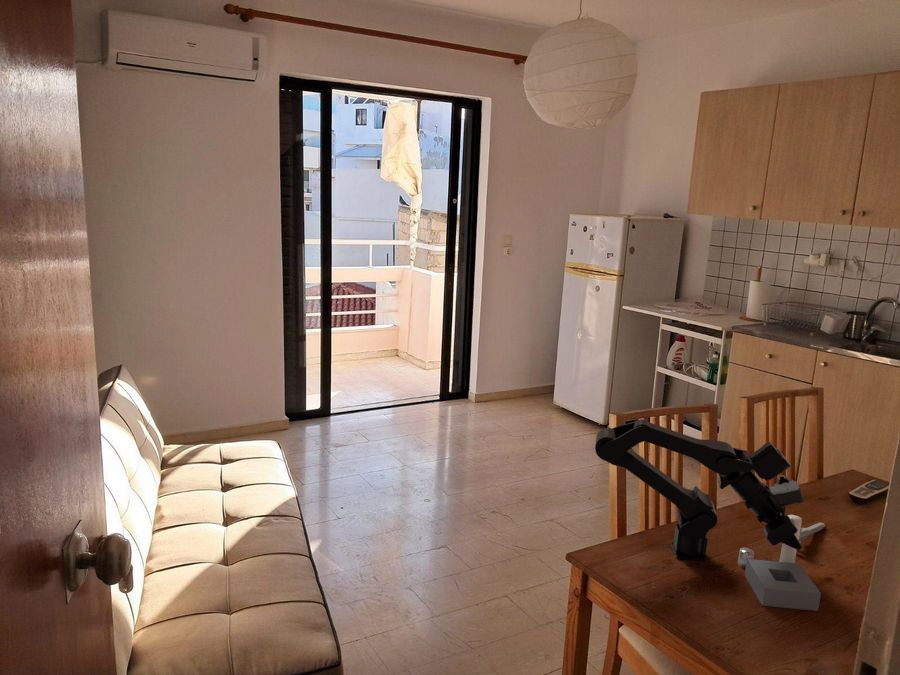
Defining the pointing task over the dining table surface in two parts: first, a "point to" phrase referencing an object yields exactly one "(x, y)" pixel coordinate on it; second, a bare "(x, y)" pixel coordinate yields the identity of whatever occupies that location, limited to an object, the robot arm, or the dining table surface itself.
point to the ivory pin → (787, 551)
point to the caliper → (809, 531)
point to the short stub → (745, 556)
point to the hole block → (782, 585)
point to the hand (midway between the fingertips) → (797, 543)
